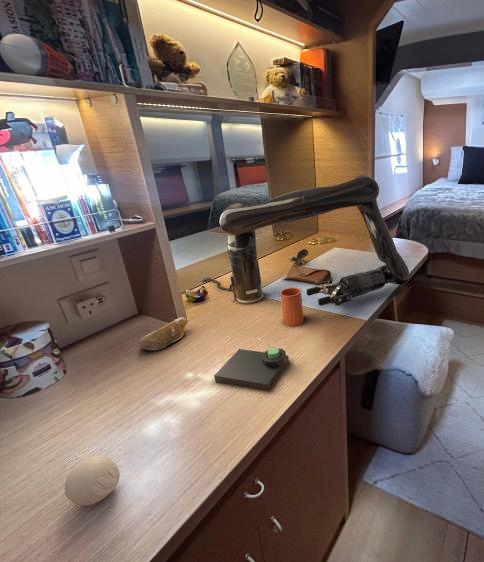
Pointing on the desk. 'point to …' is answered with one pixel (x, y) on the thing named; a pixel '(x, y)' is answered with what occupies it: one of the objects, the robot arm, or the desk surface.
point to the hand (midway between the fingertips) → (312, 297)
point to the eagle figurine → (299, 257)
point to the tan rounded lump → (91, 480)
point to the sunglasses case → (308, 275)
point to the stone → (163, 335)
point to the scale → (252, 369)
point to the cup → (292, 306)
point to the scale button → (273, 353)
